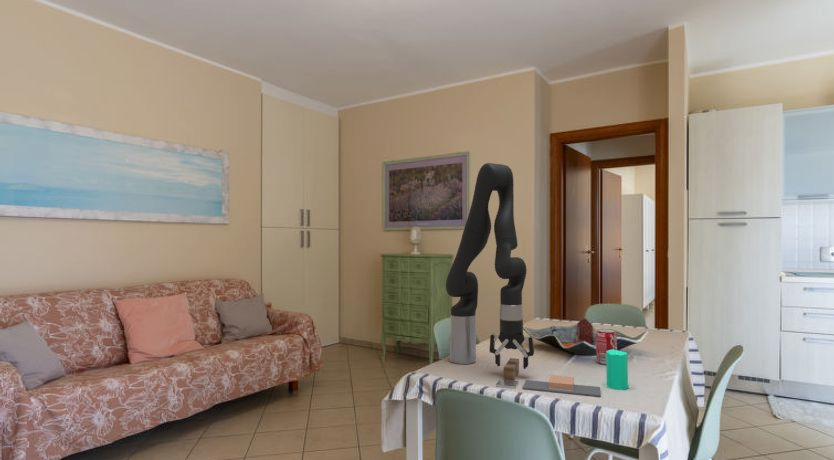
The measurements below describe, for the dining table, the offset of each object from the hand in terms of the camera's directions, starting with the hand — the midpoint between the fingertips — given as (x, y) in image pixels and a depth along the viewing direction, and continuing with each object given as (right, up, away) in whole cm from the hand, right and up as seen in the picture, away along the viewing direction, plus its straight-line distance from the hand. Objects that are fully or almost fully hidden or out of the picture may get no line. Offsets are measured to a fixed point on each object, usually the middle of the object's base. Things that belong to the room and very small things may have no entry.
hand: (511, 367), depth 154 cm
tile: (+14, -1, -8) cm, 16 cm away
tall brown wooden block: (-1, -3, -3) cm, 5 cm away
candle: (+30, -3, -11) cm, 32 cm away
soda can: (+38, -4, +16) cm, 41 cm away
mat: (+12, -3, -13) cm, 18 cm away
